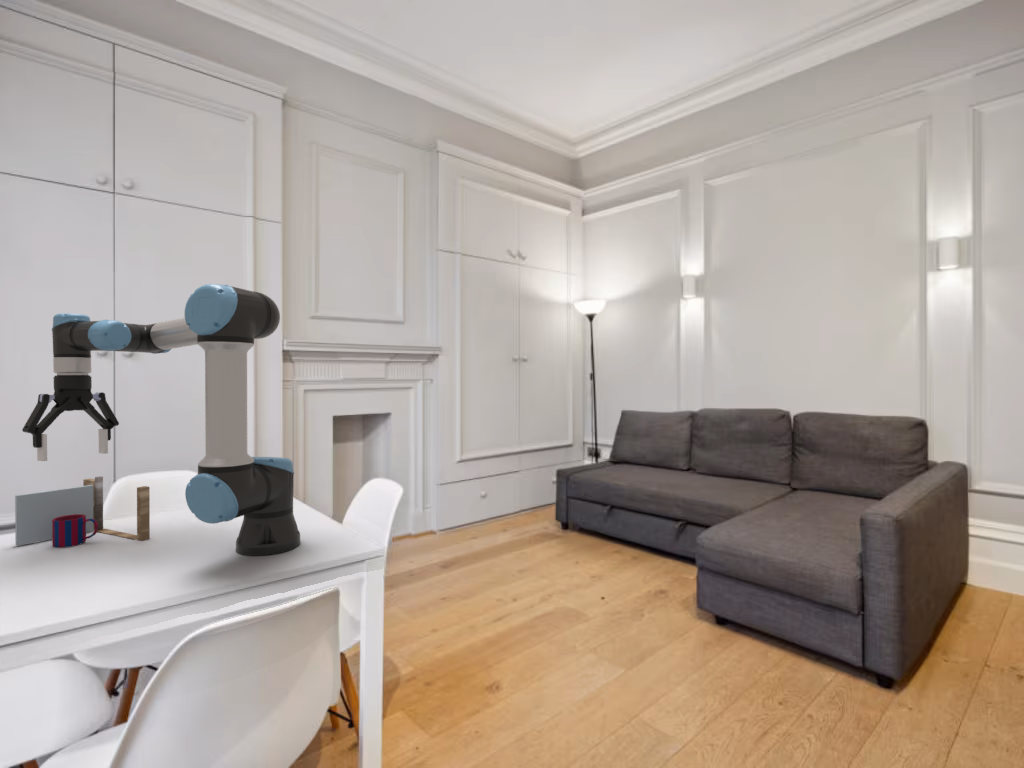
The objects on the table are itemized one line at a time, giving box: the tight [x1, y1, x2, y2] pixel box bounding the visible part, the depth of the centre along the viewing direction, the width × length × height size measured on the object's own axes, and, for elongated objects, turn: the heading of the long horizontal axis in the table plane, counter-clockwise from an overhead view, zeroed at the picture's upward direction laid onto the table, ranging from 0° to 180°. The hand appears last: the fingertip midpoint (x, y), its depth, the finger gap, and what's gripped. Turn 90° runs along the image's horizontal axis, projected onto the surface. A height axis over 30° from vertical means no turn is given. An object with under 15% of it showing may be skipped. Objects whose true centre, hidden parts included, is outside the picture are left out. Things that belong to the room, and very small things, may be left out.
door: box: [14, 485, 94, 547], centre depth 142 cm, size 16×3×13 cm, turn 146°
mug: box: [51, 514, 98, 549], centre depth 138 cm, size 7×10×7 cm
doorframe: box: [82, 476, 151, 542], centre depth 147 cm, size 26×2×15 cm, turn 66°
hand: (74, 457), depth 137 cm, fingers open, 13 cm apart
